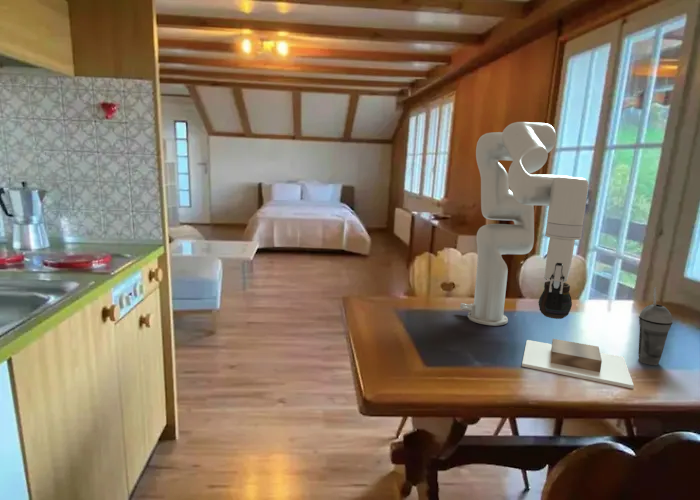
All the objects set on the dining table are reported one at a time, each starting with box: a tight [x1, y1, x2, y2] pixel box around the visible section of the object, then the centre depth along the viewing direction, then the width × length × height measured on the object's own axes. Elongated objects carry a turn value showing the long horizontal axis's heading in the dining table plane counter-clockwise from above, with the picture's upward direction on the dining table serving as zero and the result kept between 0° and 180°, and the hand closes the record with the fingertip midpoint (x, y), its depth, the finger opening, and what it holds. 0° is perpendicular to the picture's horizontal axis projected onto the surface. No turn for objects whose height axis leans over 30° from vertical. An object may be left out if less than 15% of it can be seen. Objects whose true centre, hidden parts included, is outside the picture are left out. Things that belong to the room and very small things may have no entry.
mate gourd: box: [538, 277, 573, 320], centre depth 106 cm, size 7×8×10 cm
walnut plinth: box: [551, 338, 602, 372], centre depth 115 cm, size 11×10×3 cm
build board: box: [521, 339, 635, 389], centre depth 115 cm, size 24×18×1 cm
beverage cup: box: [638, 287, 673, 366], centre depth 116 cm, size 7×7×20 cm
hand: (554, 304), depth 106 cm, fingers closed on mate gourd, 7 cm apart
